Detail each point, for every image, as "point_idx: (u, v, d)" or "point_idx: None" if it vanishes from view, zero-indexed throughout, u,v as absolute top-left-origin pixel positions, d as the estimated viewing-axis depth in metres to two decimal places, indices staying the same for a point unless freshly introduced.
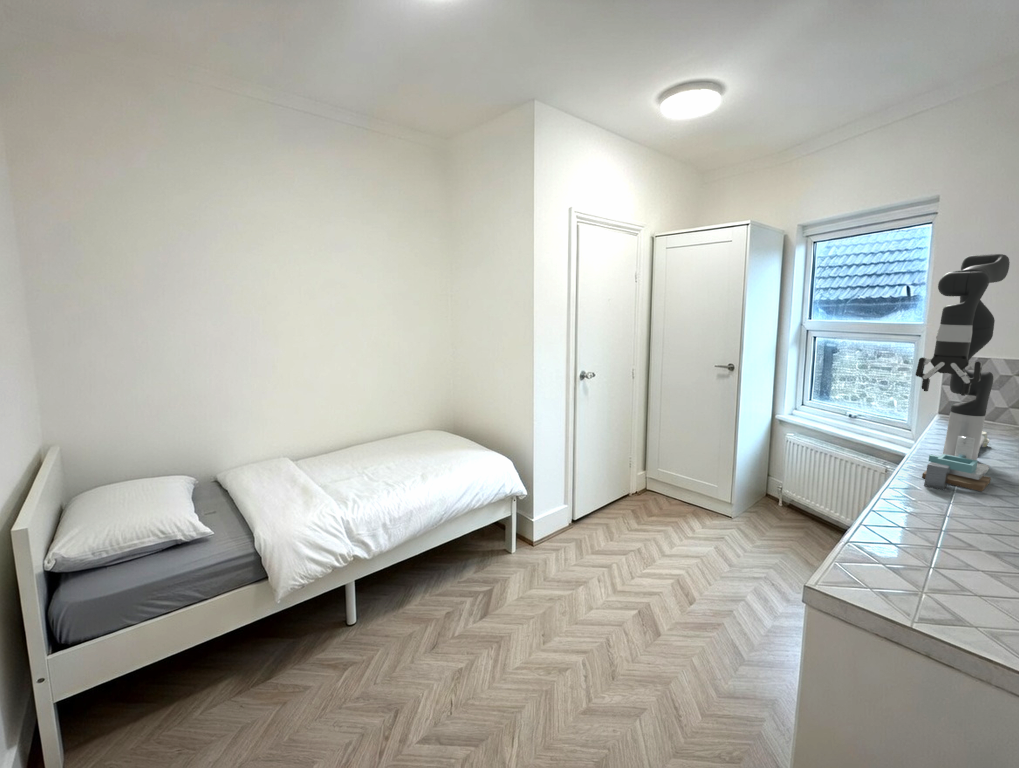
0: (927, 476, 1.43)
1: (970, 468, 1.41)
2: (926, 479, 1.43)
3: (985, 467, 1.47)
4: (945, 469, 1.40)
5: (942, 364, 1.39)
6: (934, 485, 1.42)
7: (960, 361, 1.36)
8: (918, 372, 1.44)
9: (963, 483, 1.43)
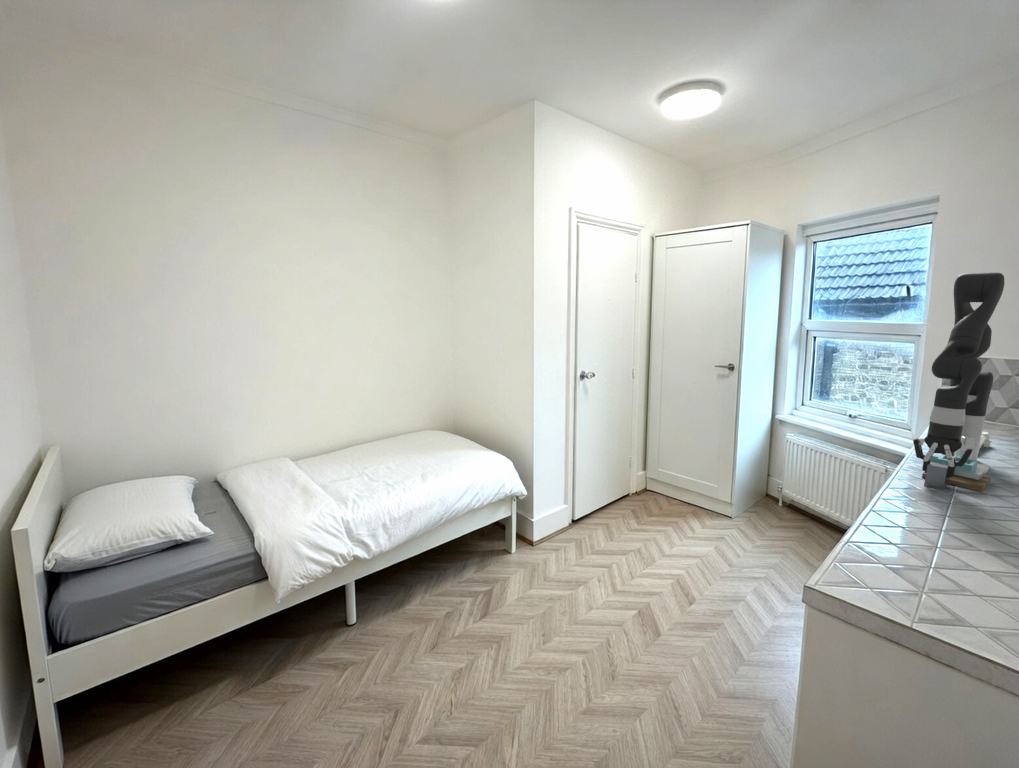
0: (927, 476, 1.43)
1: (970, 468, 1.41)
2: (926, 479, 1.43)
3: (985, 467, 1.47)
4: (945, 469, 1.40)
5: (936, 444, 1.41)
6: (934, 485, 1.42)
7: (954, 443, 1.38)
8: (919, 454, 1.45)
9: (963, 483, 1.43)
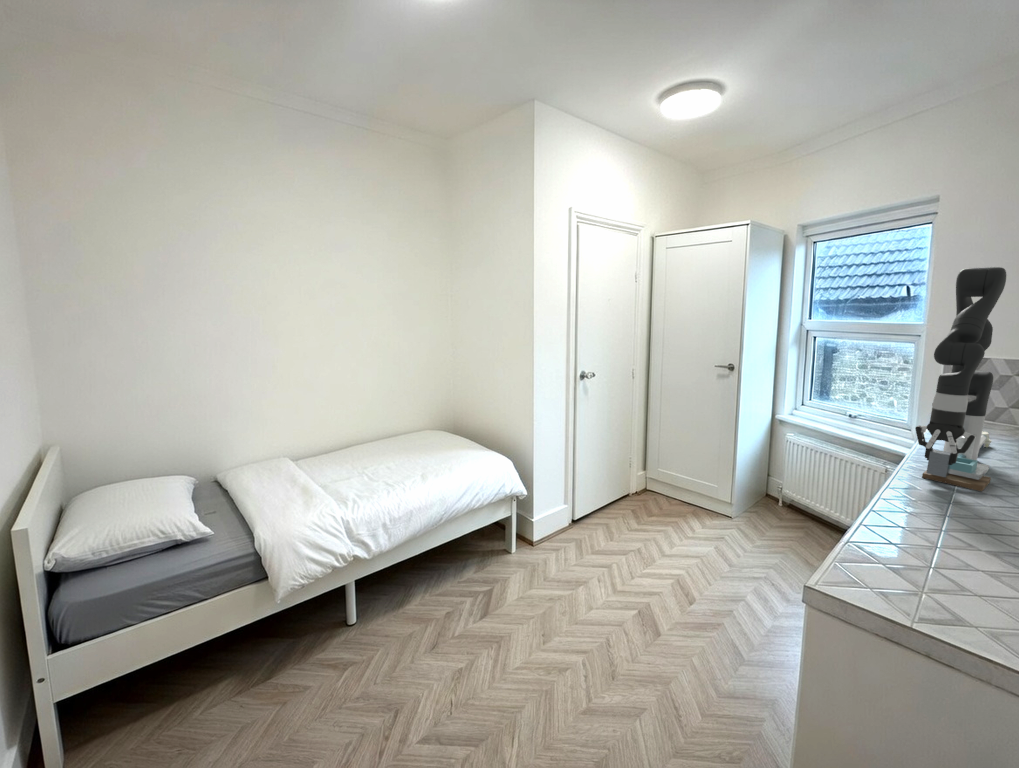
0: (929, 463, 1.42)
1: (970, 468, 1.41)
2: (928, 466, 1.43)
3: (985, 467, 1.47)
4: (948, 456, 1.39)
5: (938, 431, 1.40)
6: (937, 472, 1.41)
7: (957, 429, 1.38)
8: (921, 441, 1.44)
9: (963, 483, 1.43)
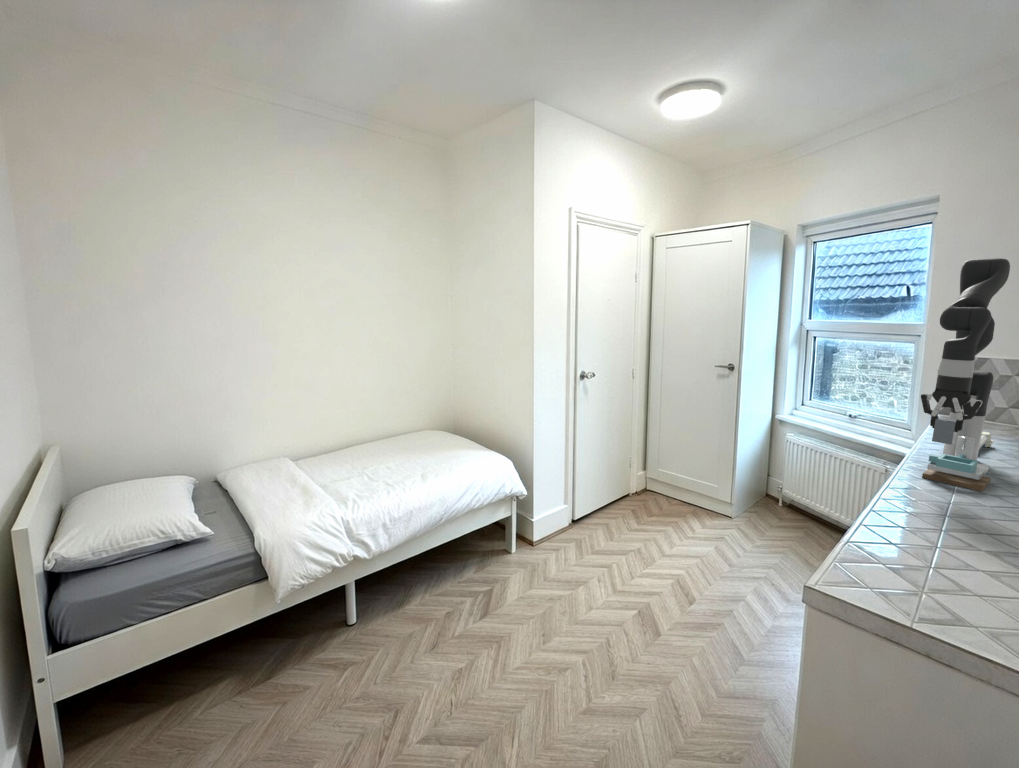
0: (935, 431, 1.41)
1: (970, 468, 1.41)
2: (934, 434, 1.41)
3: (985, 467, 1.47)
4: (954, 423, 1.37)
5: (944, 398, 1.39)
6: (942, 440, 1.40)
7: (963, 395, 1.36)
8: (926, 409, 1.42)
9: (963, 483, 1.43)
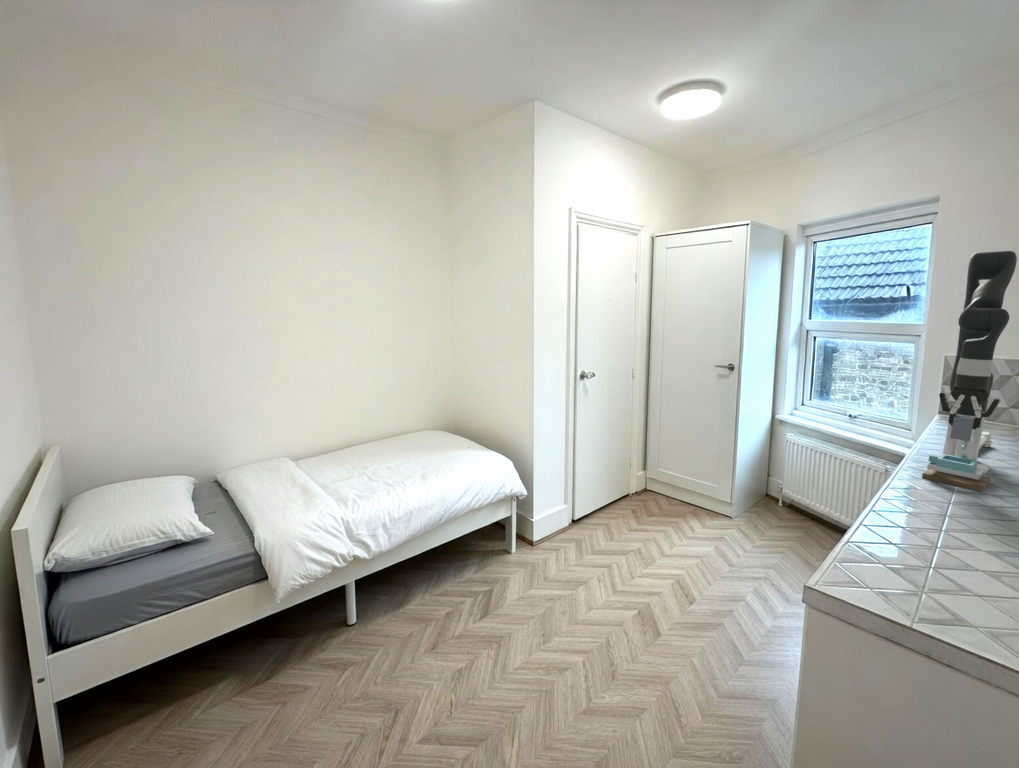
0: (953, 428, 1.45)
1: (970, 468, 1.41)
2: (952, 431, 1.45)
3: (985, 467, 1.47)
4: (972, 420, 1.42)
5: (962, 396, 1.43)
6: (961, 437, 1.44)
7: (981, 394, 1.40)
8: (945, 407, 1.47)
9: (963, 483, 1.43)
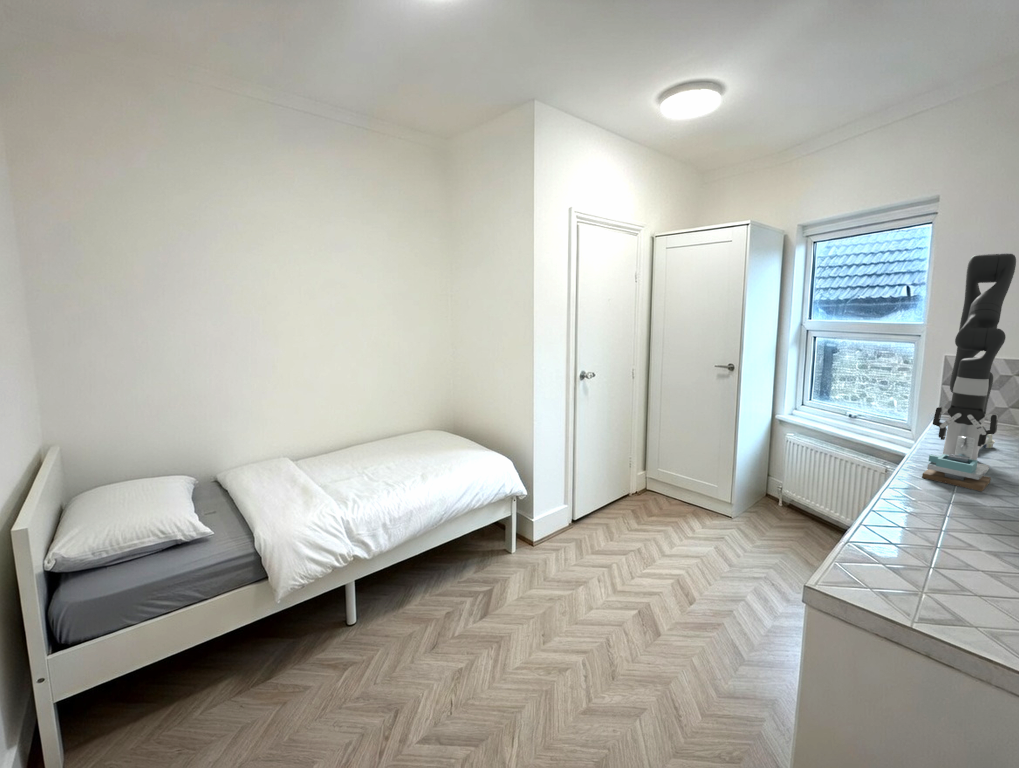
0: None
1: (970, 468, 1.41)
2: None
3: (985, 467, 1.47)
4: (965, 460, 1.44)
5: (959, 415, 1.44)
6: (955, 476, 1.46)
7: (976, 413, 1.41)
8: (935, 421, 1.49)
9: (963, 483, 1.43)
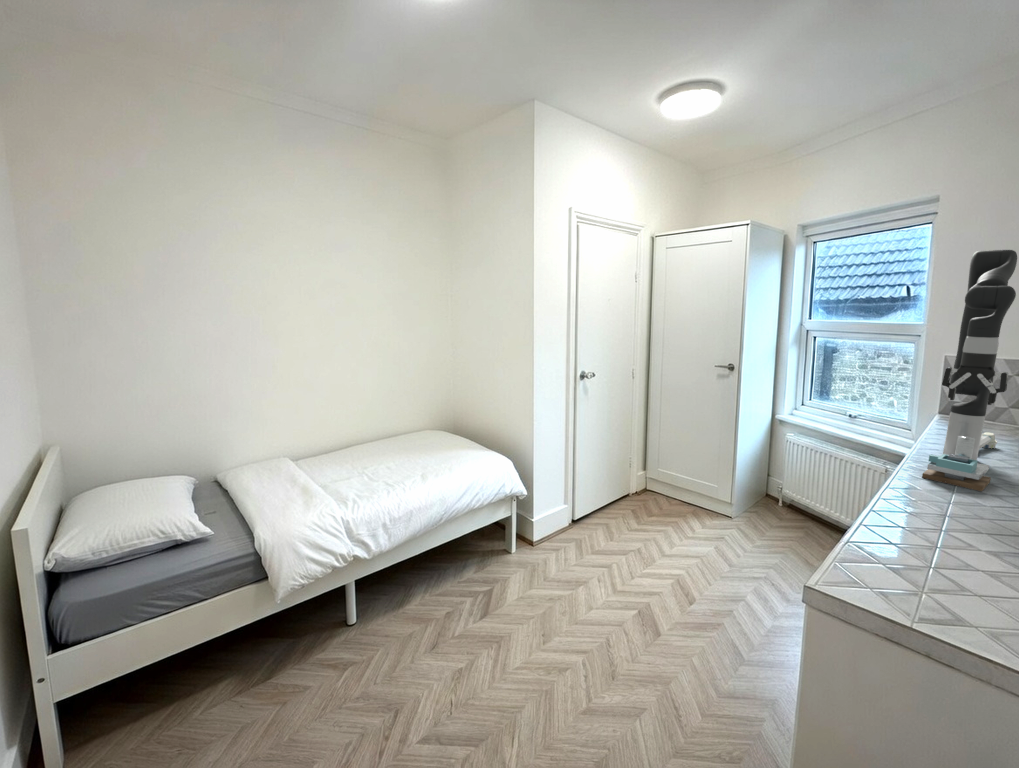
0: None
1: (970, 468, 1.41)
2: None
3: (985, 467, 1.47)
4: (965, 460, 1.44)
5: (969, 374, 1.44)
6: (955, 476, 1.46)
7: (986, 372, 1.41)
8: (945, 382, 1.49)
9: (963, 483, 1.43)
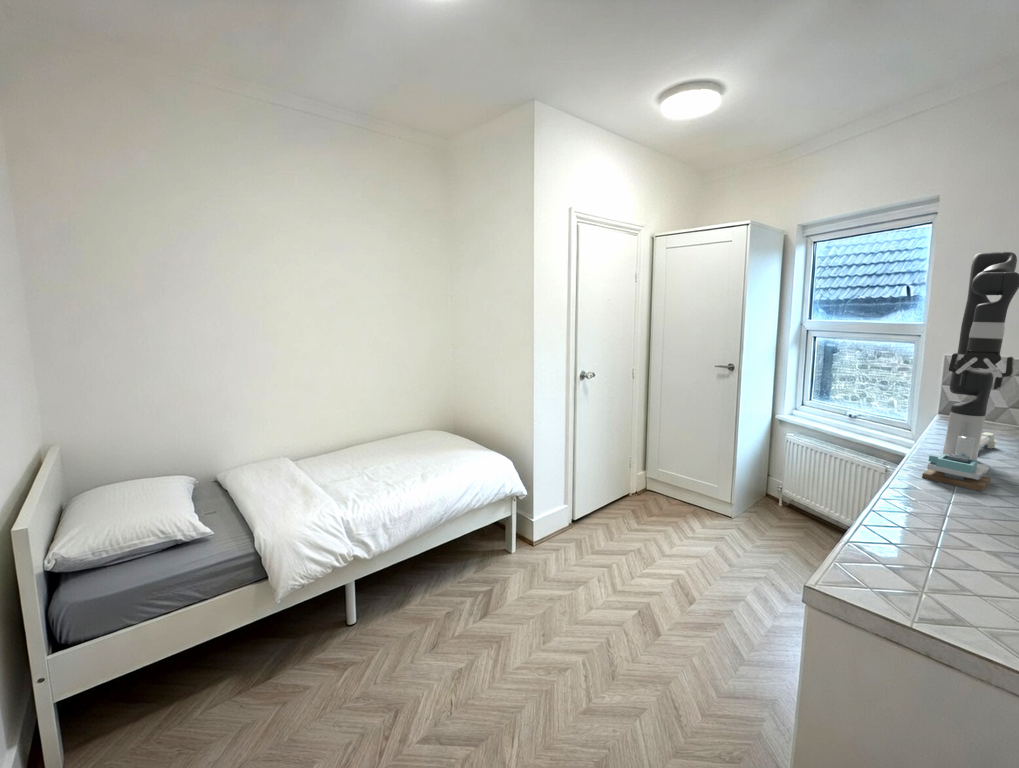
0: None
1: (970, 468, 1.41)
2: None
3: (985, 467, 1.47)
4: (965, 460, 1.44)
5: (975, 359, 1.47)
6: (955, 476, 1.46)
7: (993, 356, 1.44)
8: (951, 367, 1.52)
9: (963, 483, 1.43)
